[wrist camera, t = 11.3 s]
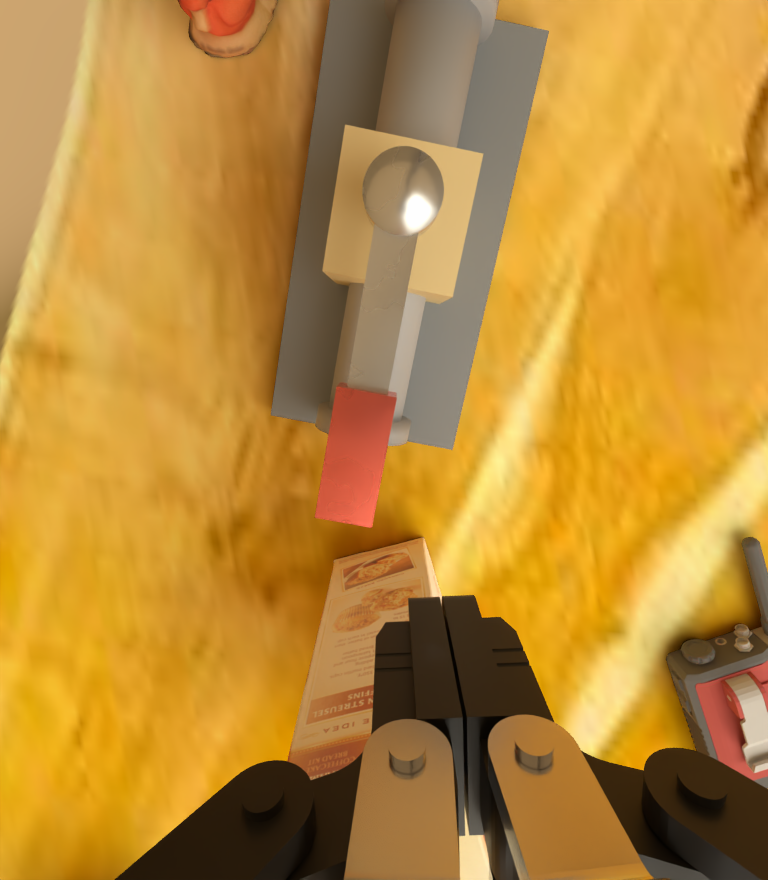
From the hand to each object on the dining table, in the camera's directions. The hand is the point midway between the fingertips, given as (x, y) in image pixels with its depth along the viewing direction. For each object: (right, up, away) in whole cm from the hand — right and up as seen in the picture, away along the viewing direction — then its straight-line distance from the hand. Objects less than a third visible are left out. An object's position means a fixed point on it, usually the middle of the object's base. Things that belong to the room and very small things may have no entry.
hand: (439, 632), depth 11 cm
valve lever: (-2, +8, +11) cm, 14 cm away
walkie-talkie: (+25, -12, +26) cm, 38 cm away
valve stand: (0, +17, +19) cm, 26 cm away
